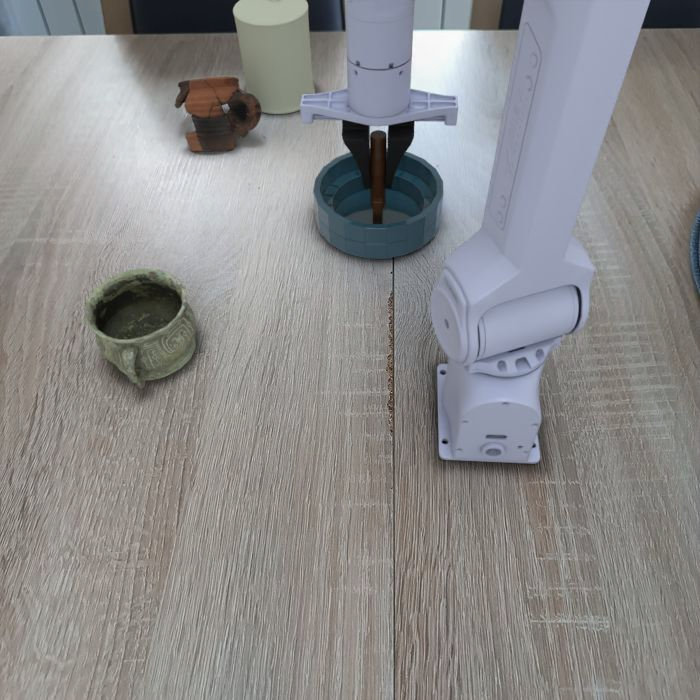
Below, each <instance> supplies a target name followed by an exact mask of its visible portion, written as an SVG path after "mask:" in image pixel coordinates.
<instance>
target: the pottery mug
mask: <svg viewBox="0 0 700 700" xmlns="http://www.w3.org/2000/svg"><path fill="white" fill-rule="evenodd" d="M239 82H240V78H238V77H234V76H219V77H217V76H215V77H206V78H196V79H187V80H182V81H179V82H178V83H177V87H178V88H179V93H178V94H177V95H176V98H175V103H174V107H175V108H176V109H180V108H181V107H182V105H183V106H184V110H185V112H186V113H187V114H189V115H191V116H190V117H191V120H192V123H193V127H194V128H195V130H194V131H190V132H189V131H187V132H186V133H185V135H184V136H185V139H186V142H187V145H188V147H189V150H190V152H203V151H204V152H208V151H210V152H219V151H220V152H221V151H229V150H234V149H235V148H236V145H235V139H236V135H237V136H238V137H239V138H243V139H244V138H245V137H246V136H247V135H248V134H249V132H250V131H252V130H254V129H255V128H256V127H257V126H258V124H259V122H260V120H261V117H262V113H263V112H262V110H261V105H260V102H259V101H258V99H257V98H256V97H255V96H254V95H252V94H248V93H247V92H244V90H243V89H242V88H241V87H240V83H239ZM243 92H244V93H243ZM225 105H227V106H228V108H229V109H228V110H227V111H225V110H224V108H223V106H225Z"/></svg>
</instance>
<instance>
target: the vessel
mask: <svg viewBox="0 0 700 700" xmlns="http://www.w3.org/2000/svg"><path fill="white" fill-rule="evenodd" d="M83 310H84V311H83V313H84V321H85V323H86V324H87V326H88V328H89V330H90V332H93V333H94V335H95V342H96V345H97V346H98V349H99V350H100V352H101V354H102V356H103V357H104V358H105V359H106V360H107V361H109V362H110V363H112V364H113V365H115V366H116V367H117V369H118V370H119V371H120V372H121V373H123V374H124V375H126V376H127V378H128V380H129V382H131V383H132V384H136V385H137V386H138V388H139V389H144V388H145V386H146V381H155V380H159V379H163V378H166V377H168V376H170V375H172V374H174V373H175V372H177V371H179V370H180V369H182V368H183V367H184V366H185V365H186V364H187V363H188V362H189V361H191V359H192V357H193V355H194V353H195V352H196V349H197V343H196V341H197V340H196V334H197V322H196V315H195V312H194V310H193V309H192V307H191V305H190V304H189V303H188V297H187V293H186V288H185V286H184V284H183V283H182V282H181V281H180V279H179V278H177V277H176V276H174V275H173V274H170V273H169V272H167V271H164V270H161V269H156V268H148V267H147V268H145V267H144V268H143V267H142V268H135V269H130V270H127V271H122V272H121V273H119V274H116V275H115V276H113V277H111V278H109V279H106V280H105V281H103V282H102V283H101V284H100V285H98V286H97V287H95V289H94V290H93V291H92V293H91V294H90V296H89V297H88V299H87V300H86V302H85V305H84V309H83Z"/></svg>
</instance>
